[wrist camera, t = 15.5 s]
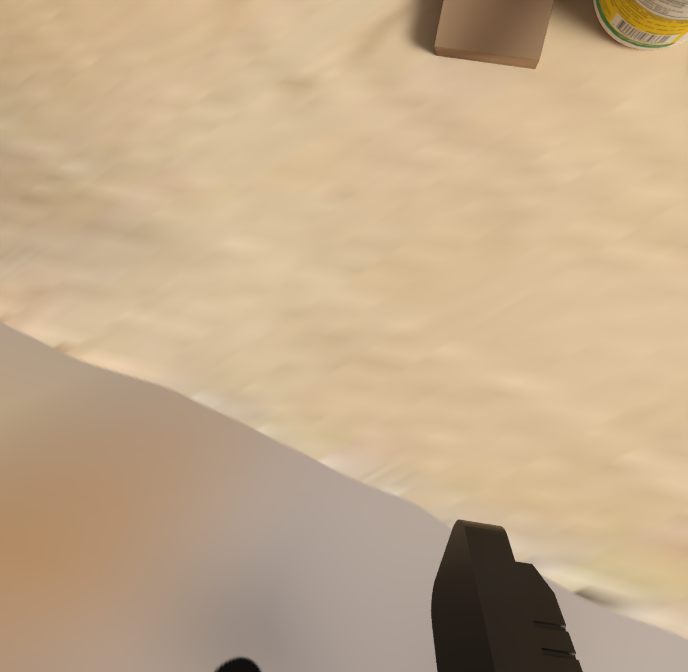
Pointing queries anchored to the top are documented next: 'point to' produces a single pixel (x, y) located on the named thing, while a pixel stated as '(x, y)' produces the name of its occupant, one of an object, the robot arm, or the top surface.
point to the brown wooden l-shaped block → (494, 30)
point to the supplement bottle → (644, 22)
